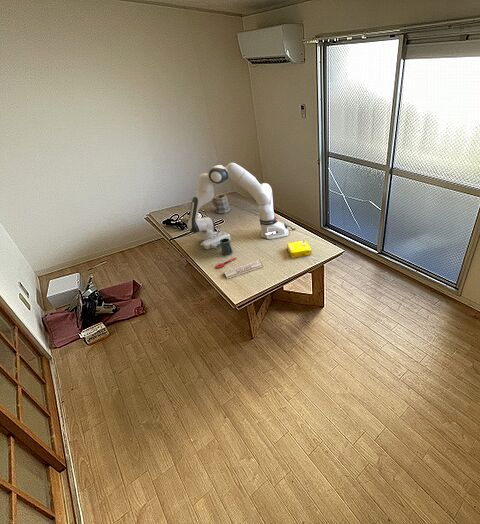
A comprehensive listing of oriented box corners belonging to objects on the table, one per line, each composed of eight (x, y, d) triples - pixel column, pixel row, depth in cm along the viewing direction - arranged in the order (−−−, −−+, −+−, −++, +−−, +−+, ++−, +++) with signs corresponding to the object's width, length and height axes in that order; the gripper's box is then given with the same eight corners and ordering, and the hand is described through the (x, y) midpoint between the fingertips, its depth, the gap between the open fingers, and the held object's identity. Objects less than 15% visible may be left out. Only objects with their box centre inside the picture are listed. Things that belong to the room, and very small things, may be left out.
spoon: (234, 257, 197) (233, 256, 196) (237, 259, 195) (237, 258, 194) (215, 267, 187) (214, 265, 187) (218, 269, 185) (218, 268, 185)
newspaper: (258, 261, 193) (258, 259, 192) (262, 266, 188) (262, 264, 187) (224, 273, 182) (223, 271, 180) (227, 279, 177) (226, 276, 176)
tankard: (233, 209, 265) (229, 194, 256) (222, 214, 256) (218, 198, 247) (219, 205, 273) (215, 190, 265) (208, 209, 265) (203, 194, 256)
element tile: (286, 248, 208) (286, 242, 205) (306, 244, 212) (305, 239, 209) (291, 258, 196) (290, 252, 193) (312, 254, 201) (311, 248, 198)
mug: (220, 253, 202) (217, 240, 196) (228, 249, 206) (225, 237, 201) (228, 257, 197) (225, 245, 191) (236, 253, 201) (234, 241, 196)
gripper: (197, 240, 200) (208, 246, 193) (223, 229, 213) (233, 235, 206) (200, 247, 204) (210, 254, 196) (224, 236, 217) (235, 242, 210)
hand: (222, 244), depth 201 cm, fingers open, 8 cm apart
